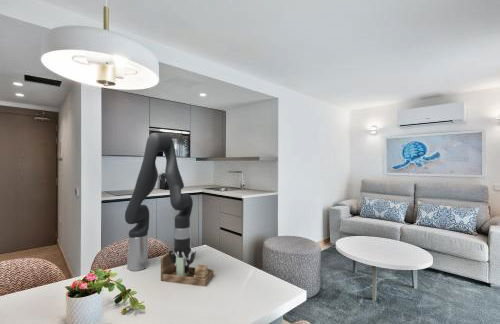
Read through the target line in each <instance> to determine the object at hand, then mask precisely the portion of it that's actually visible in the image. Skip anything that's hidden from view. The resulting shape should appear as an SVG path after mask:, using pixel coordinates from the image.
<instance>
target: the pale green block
mask: <svg viewBox="0 0 500 324" xmlns="http://www.w3.org/2000/svg"><path fill="white" fill-rule="evenodd" d="M186 258H187V257H186ZM175 265H176V272H177V276H185V277H186V276H187V275H188V272H187V273H185V261H184V258H181V257H179V258H176V264H175Z"/></svg>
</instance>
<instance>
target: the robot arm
mask: <svg viewBox="0 0 500 324" xmlns="http://www.w3.org/2000/svg"><path fill="white" fill-rule="evenodd" d="M174 144H175V143H174V139H173V138H172V136H171V135H170V134H169V133H166V132H152V133H150V134H149V136H148V138H147V140H146V144H145V149H144V150H145V151H144V155H143V160H142V163H141V167H140V169H139V172H138V175H137V178H136V182H135V186H134V189H133V192H132V196H131V197H130V199H129V202H128V204H127V207H126V209H125V212H124V221H125V222H126V223H127V224H128V225H135V226H134V227H133V228H131V229H130V230H129V231H128V250H126V259H127V260H126V261H127V263H126V265H127V268H126V269H128V270H129V271H131V272H138V271H143V270H145V269H147V268H148V267H147V266H149V263H148V262H149V261H148V259H149V257H148V256H149V255H148V254H149V252H148V250H149V249H148V248H149V247H148V243H149V241H148V235H149V234H148V231H149V228H150V210H149V207H148V206H147V205H146V204H142V203H143V201H145V199H146V198H147V197H148V196H149V195H150V194H151V193H152V192H153V190H155V187H156V184H157V182H158V177H159V172H158V168H157V165H156V164H157V163H156V160H157V157H158V154H159V152H163V154H164V156H165V162H166V163H165V164H166V165H165V169H164V170H165V171H164V176H165V180H166V183H167V186H168V188H169V200H170V201H169V202H170V205H171V206H172V208H173V209H174V210H175V211H179V212H178V213H177V214H176V215H175V216H174V230H173V231H174V232H173V235H174V237H173V239H174V240H173V241H174V242H173V246H174V248H173V249H171V250H169V251H168V252H169V255H170V257H171V260H172V263H175V265H176V258H179V257H181V258H184V261H185V273H187V272H188V271H189V267H190V265H192V264H193V263H194V260H195V258H196V255H197V251H193V250H192V247H191V248H190V245H192V243H191V242H192V240H191V241H190V236H191V237H192V235H191V234H192V233H191V234H190V229H191V221H190V220H191V214H192V210H193V207H194V205H193V204H194V203H193V202H194V200H193V197H192V196H191V195H190V194H188V193H183V194H182V189H184V188H185V184H184V181H183V178H182V175H181V172H180V169H179V165H178V160H177V154H176V151H175V150H176V149H175V145H174ZM189 254H190V256H191V257H190V260H189ZM186 257H187V258H186ZM146 267H147V268H146ZM144 268H145V269H144ZM142 269H143V270H142Z"/></svg>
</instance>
